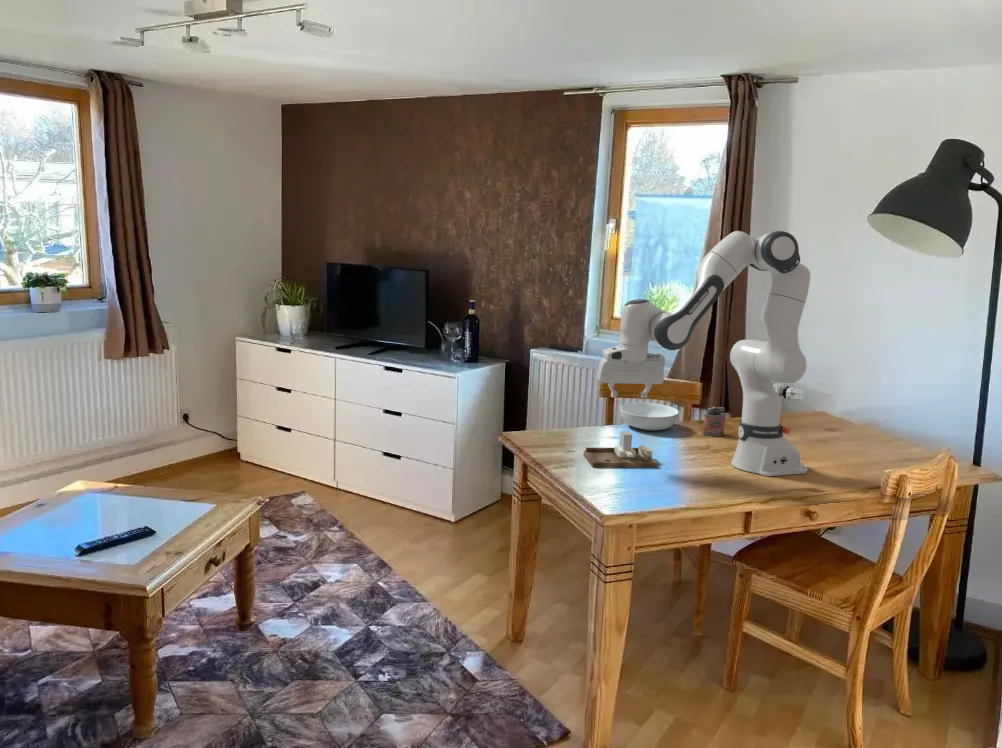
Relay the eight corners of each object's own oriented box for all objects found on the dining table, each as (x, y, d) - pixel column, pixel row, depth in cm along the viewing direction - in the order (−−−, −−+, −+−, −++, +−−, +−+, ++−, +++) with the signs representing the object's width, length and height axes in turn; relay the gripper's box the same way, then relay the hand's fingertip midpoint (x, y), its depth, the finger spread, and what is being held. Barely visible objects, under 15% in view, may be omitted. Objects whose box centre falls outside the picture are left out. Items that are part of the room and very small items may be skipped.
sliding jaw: (629, 451, 253) (631, 430, 251) (638, 460, 244) (640, 438, 242) (614, 451, 252) (615, 430, 251) (622, 460, 243) (624, 438, 242)
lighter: (704, 436, 282) (707, 408, 280) (700, 433, 285) (703, 406, 283) (725, 435, 283) (728, 408, 281) (720, 433, 287) (723, 405, 285)
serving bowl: (608, 421, 296) (609, 403, 294) (657, 418, 303) (659, 401, 302) (637, 437, 277) (638, 417, 275) (688, 433, 284) (690, 414, 283)
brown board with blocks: (644, 455, 255) (645, 444, 254) (656, 467, 244) (657, 455, 243) (583, 455, 252) (584, 444, 252) (592, 467, 241) (593, 455, 240)
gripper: (662, 352, 248) (658, 395, 250) (597, 350, 245) (594, 394, 247) (669, 355, 241) (664, 400, 244) (603, 353, 239) (599, 399, 241)
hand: (628, 397), depth 246 cm, fingers open, 8 cm apart
